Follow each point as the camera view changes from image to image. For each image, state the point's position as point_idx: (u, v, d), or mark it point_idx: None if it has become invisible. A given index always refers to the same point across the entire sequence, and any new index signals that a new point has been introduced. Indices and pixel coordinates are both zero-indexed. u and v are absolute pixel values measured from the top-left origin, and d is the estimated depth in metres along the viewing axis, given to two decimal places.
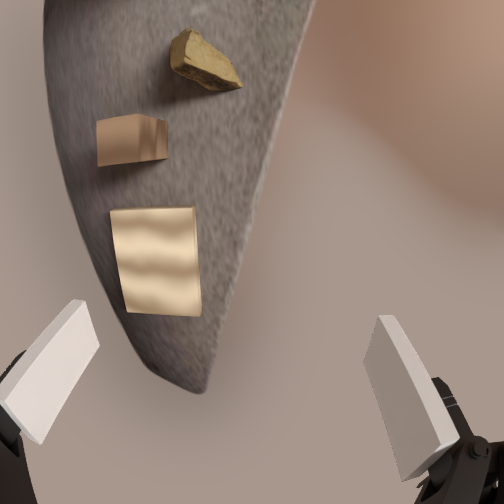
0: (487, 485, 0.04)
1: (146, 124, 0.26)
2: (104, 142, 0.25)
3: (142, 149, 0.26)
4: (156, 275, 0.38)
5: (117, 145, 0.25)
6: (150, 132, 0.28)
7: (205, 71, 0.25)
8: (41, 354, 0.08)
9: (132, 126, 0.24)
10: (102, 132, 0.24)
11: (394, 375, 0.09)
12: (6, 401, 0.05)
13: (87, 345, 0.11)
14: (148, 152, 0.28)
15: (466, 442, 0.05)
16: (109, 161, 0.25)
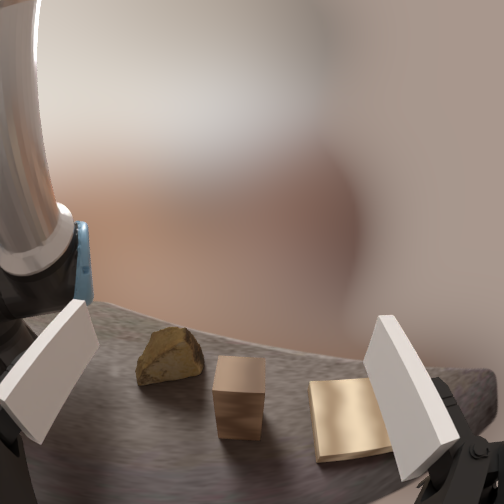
0: (487, 485, 0.04)
1: None
2: (239, 384, 0.25)
3: None
4: None
5: (246, 373, 0.27)
6: None
7: None
8: (41, 354, 0.08)
9: (230, 359, 0.28)
10: (227, 385, 0.25)
11: (394, 375, 0.09)
12: (6, 401, 0.05)
13: (87, 345, 0.11)
14: None
15: (466, 442, 0.05)
16: (261, 380, 0.26)
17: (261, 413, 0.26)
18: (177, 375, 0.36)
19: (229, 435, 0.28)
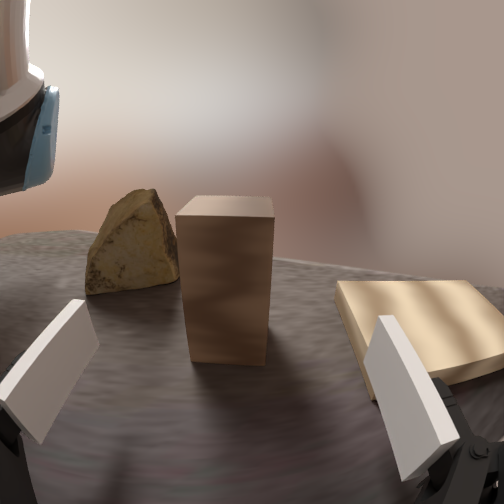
0: (487, 485, 0.04)
1: None
2: (226, 210, 0.15)
3: None
4: (451, 312, 0.19)
5: (239, 204, 0.16)
6: None
7: None
8: (41, 354, 0.08)
9: (214, 197, 0.18)
10: (204, 211, 0.15)
11: (394, 375, 0.09)
12: (6, 401, 0.05)
13: (87, 345, 0.11)
14: None
15: (466, 442, 0.05)
16: (266, 209, 0.15)
17: (268, 282, 0.15)
18: (141, 279, 0.26)
19: (210, 353, 0.17)
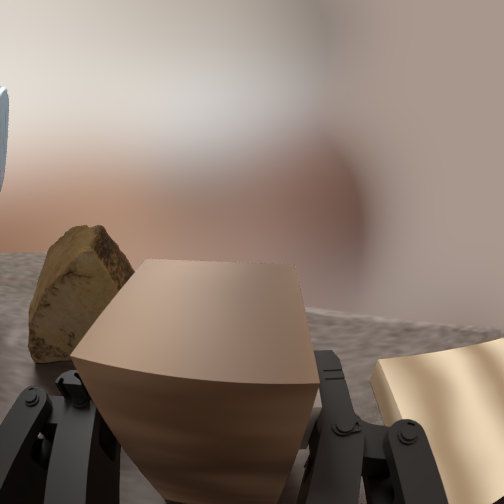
0: (389, 474, 0.06)
1: None
2: (191, 340, 0.06)
3: None
4: None
5: (227, 302, 0.07)
6: None
7: (123, 254, 0.16)
8: None
9: (178, 267, 0.09)
10: (138, 345, 0.05)
11: None
12: None
13: None
14: None
15: (326, 419, 0.06)
16: (293, 329, 0.06)
17: (287, 463, 0.06)
18: None
19: (191, 500, 0.08)
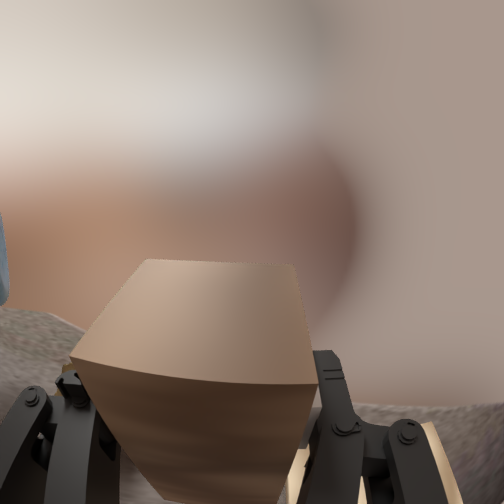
0: (389, 474, 0.06)
1: None
2: (190, 341, 0.06)
3: None
4: None
5: (226, 302, 0.07)
6: None
7: None
8: None
9: (177, 267, 0.09)
10: (137, 345, 0.05)
11: None
12: None
13: None
14: None
15: (326, 419, 0.06)
16: (292, 329, 0.06)
17: (286, 463, 0.06)
18: None
19: (190, 500, 0.08)
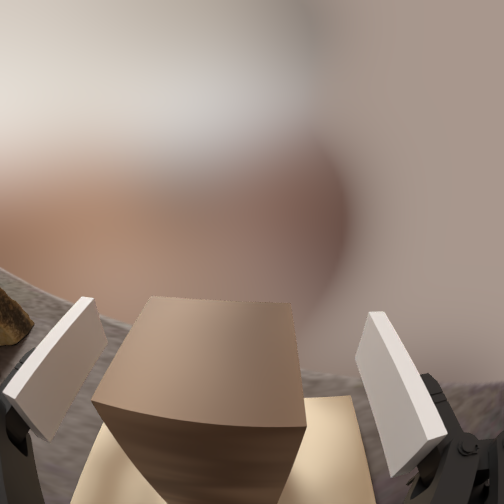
0: (479, 483, 0.04)
1: None
2: (197, 386, 0.06)
3: None
4: None
5: (228, 347, 0.07)
6: None
7: None
8: (51, 351, 0.08)
9: (182, 307, 0.09)
10: (151, 390, 0.06)
11: (384, 371, 0.09)
12: (16, 399, 0.05)
13: (96, 343, 0.11)
14: None
15: (454, 439, 0.05)
16: (286, 375, 0.07)
17: (282, 480, 0.06)
18: None
19: None
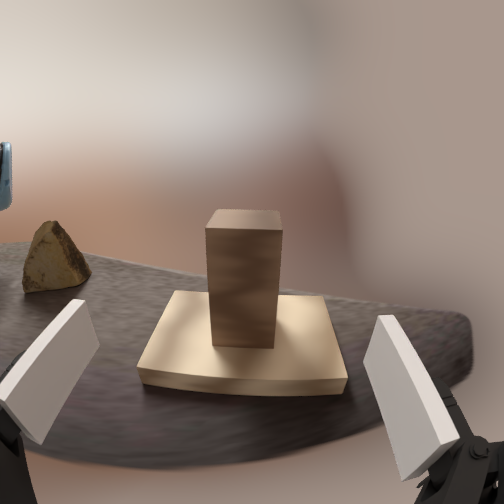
0: (487, 485, 0.04)
1: None
2: (244, 223, 0.19)
3: None
4: None
5: (254, 218, 0.21)
6: None
7: (67, 234, 0.31)
8: (41, 354, 0.08)
9: (232, 211, 0.22)
10: (228, 224, 0.19)
11: (394, 375, 0.09)
12: (6, 401, 0.05)
13: (87, 345, 0.11)
14: None
15: (466, 442, 0.05)
16: (276, 222, 0.20)
17: (277, 280, 0.20)
18: (56, 283, 0.32)
19: (228, 338, 0.22)
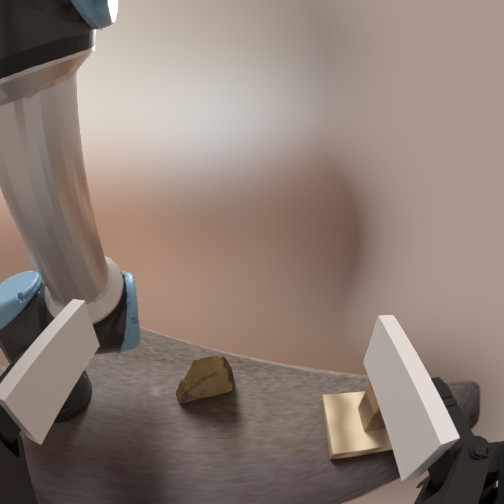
0: (487, 485, 0.04)
1: None
2: None
3: None
4: None
5: None
6: None
7: None
8: (41, 354, 0.08)
9: None
10: None
11: (394, 375, 0.09)
12: (6, 401, 0.05)
13: (87, 345, 0.11)
14: None
15: (466, 442, 0.05)
16: None
17: None
18: (213, 393, 0.43)
19: (373, 427, 0.33)
